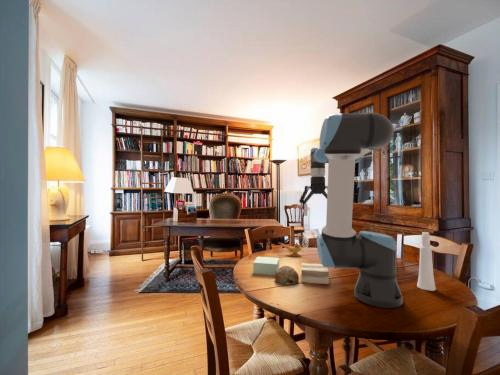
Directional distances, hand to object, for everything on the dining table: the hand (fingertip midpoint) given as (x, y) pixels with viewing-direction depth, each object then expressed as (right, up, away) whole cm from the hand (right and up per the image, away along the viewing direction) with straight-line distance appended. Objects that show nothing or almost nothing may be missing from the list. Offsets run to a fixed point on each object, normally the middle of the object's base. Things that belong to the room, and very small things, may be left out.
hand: (317, 216), depth 130 cm
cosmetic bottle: (+34, -25, -33) cm, 53 cm away
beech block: (-8, -25, -23) cm, 35 cm away
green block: (-28, -25, -12) cm, 40 cm away
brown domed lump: (-21, -25, -25) cm, 41 cm away
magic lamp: (-10, -26, +18) cm, 33 cm away
